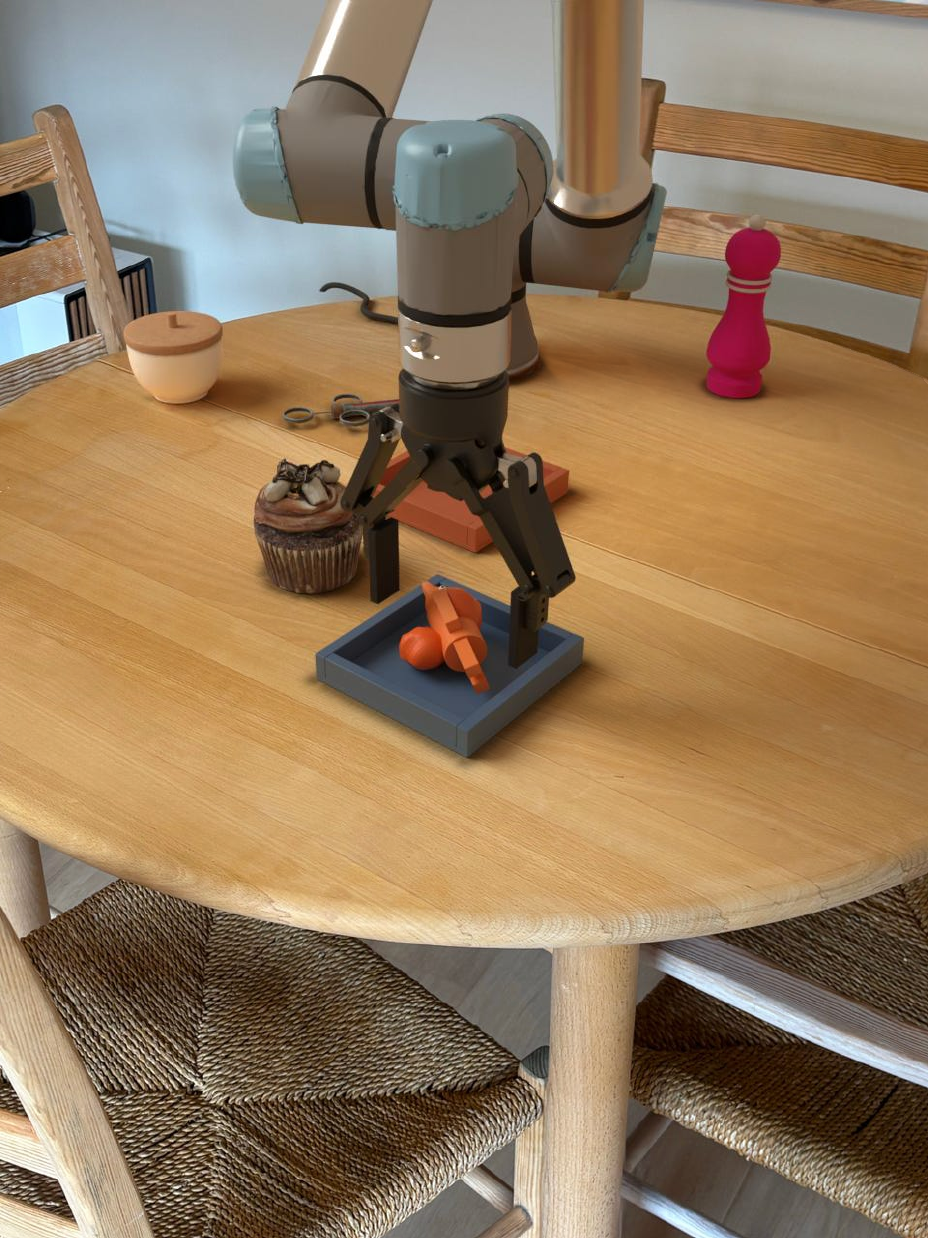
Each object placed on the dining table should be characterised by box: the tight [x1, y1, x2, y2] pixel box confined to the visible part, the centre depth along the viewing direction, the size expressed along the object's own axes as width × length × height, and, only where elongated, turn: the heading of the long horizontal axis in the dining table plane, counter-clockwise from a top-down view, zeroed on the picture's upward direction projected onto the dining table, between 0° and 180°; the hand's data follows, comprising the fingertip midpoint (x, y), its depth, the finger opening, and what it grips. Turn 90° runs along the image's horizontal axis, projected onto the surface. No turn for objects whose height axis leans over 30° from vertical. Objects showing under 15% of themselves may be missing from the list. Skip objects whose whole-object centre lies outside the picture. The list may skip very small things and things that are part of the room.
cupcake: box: [253, 457, 363, 595], centre depth 108 cm, size 10×10×10 cm
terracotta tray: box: [373, 446, 570, 554], centre depth 122 cm, size 15×15×2 cm
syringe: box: [282, 393, 399, 428], centre depth 137 cm, size 8×18×2 cm, turn 105°
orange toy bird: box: [399, 580, 490, 694], centre depth 97 cm, size 5×8×12 cm
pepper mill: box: [705, 214, 782, 399], centre depth 139 cm, size 7×7×20 cm
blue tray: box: [314, 573, 585, 759], centre depth 98 cm, size 15×15×2 cm
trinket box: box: [122, 310, 224, 405], centre depth 139 cm, size 11×11×9 cm
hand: (451, 626), depth 96 cm, fingers open, 13 cm apart
